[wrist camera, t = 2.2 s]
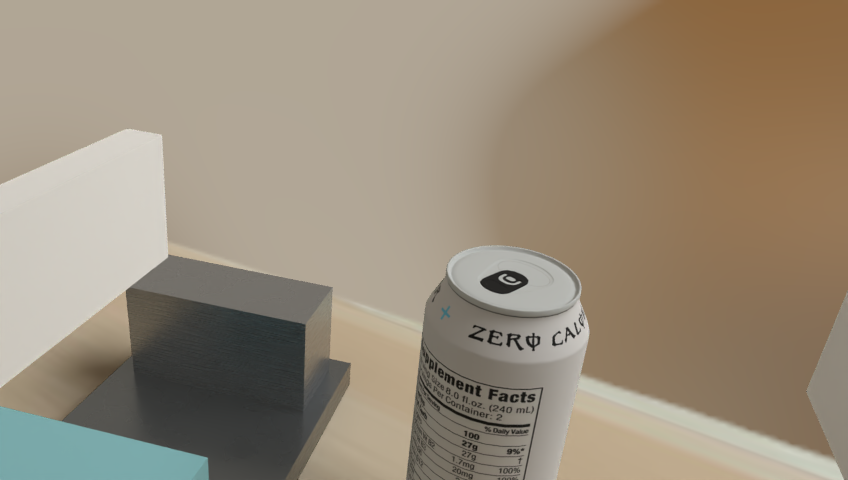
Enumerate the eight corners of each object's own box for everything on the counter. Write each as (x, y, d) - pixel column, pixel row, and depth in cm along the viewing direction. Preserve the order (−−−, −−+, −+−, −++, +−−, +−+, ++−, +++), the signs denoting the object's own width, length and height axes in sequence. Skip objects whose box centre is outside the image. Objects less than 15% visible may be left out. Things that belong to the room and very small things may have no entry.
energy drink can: (558, 575, 32) (631, 285, 26) (469, 661, 28) (530, 343, 22) (459, 497, 36) (501, 225, 29) (368, 564, 32) (394, 265, 25)
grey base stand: (349, 384, 43) (355, 282, 40) (139, 770, 24) (121, 629, 21) (167, 343, 45) (160, 244, 42) (-165, 670, 26) (-222, 528, 23)
